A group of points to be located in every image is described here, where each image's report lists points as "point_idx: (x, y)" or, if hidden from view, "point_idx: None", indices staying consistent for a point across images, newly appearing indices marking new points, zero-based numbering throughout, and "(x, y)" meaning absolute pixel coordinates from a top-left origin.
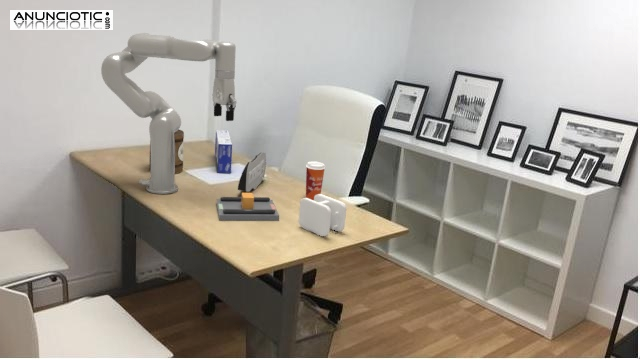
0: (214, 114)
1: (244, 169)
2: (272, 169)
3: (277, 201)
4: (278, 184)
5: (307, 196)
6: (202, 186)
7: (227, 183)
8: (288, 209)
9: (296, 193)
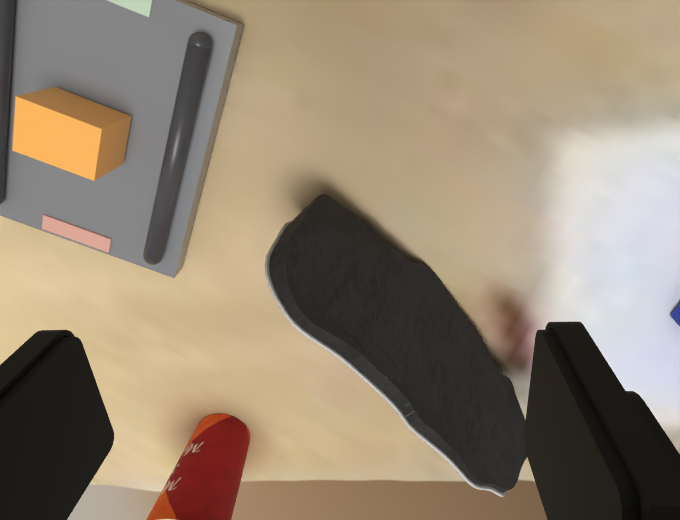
0: (560, 338)
1: (282, 265)
2: None
3: (213, 305)
4: None
5: (215, 419)
6: (547, 77)
7: (529, 227)
8: (113, 295)
9: (286, 411)
